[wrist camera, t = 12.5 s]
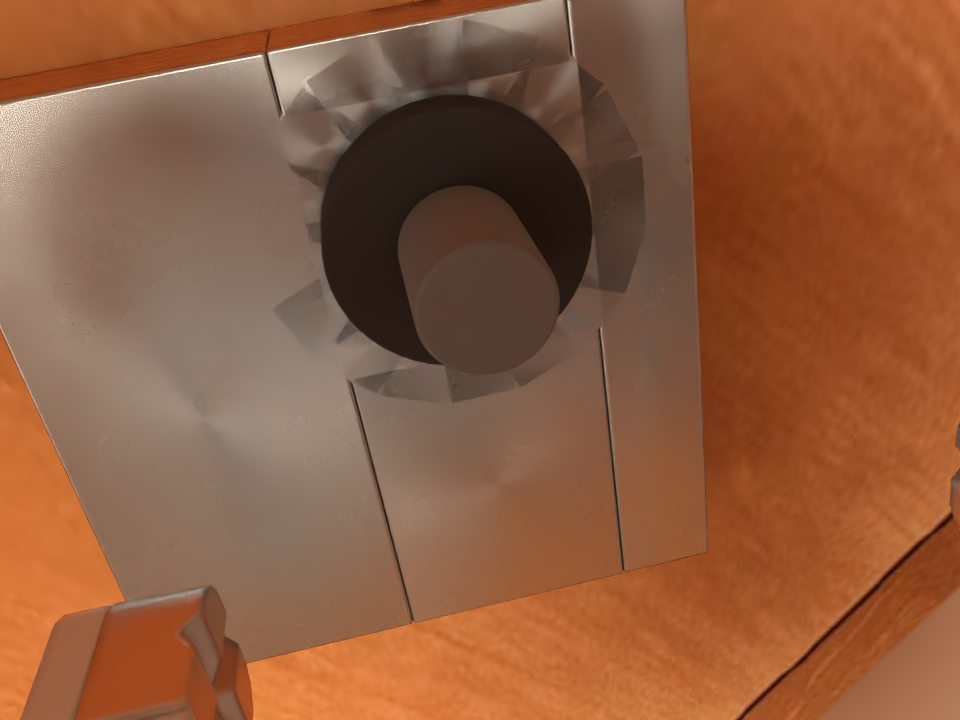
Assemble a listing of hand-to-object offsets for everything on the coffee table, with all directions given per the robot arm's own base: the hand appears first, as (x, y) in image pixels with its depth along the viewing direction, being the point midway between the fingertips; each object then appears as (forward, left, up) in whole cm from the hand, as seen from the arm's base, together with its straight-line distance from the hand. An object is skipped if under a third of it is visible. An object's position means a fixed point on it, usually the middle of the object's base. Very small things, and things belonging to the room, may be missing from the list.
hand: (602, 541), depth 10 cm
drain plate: (+2, +3, -12) cm, 13 cm away
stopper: (0, 0, -12) cm, 12 cm away
